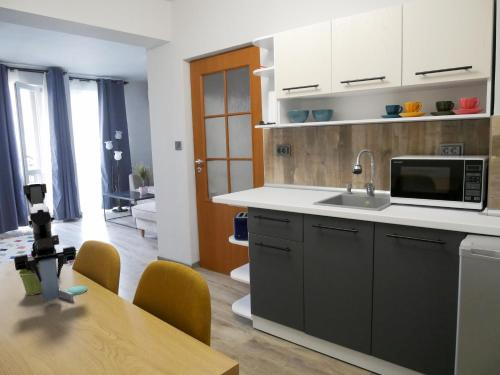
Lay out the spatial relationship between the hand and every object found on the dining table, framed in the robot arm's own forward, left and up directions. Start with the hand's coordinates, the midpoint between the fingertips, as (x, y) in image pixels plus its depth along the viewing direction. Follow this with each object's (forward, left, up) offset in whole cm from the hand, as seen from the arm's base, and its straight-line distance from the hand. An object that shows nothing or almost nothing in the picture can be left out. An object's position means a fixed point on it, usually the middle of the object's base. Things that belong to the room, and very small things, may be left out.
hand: (49, 279), depth 127 cm
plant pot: (-17, +3, -9) cm, 20 cm away
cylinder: (-1, +1, -7) cm, 7 cm away
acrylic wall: (-3, +6, -9) cm, 11 cm away
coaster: (-4, +11, -9) cm, 15 cm away
